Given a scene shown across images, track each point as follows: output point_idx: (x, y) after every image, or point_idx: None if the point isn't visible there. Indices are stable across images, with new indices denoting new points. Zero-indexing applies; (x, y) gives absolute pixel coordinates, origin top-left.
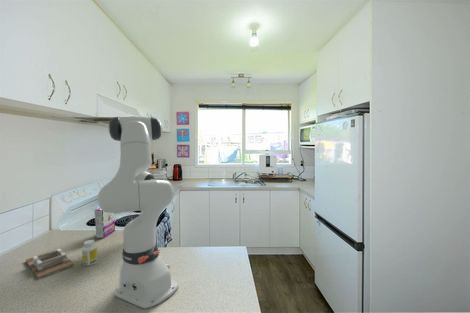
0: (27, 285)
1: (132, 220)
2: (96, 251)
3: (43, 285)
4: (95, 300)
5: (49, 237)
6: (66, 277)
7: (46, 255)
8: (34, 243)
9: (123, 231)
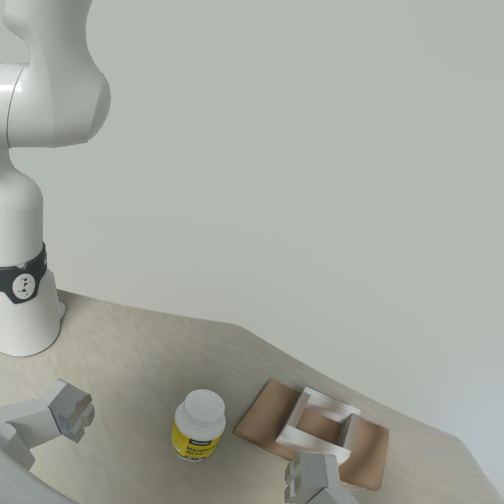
0: (268, 367)
1: (23, 177)
2: (174, 431)
3: (233, 364)
4: (95, 310)
5: None
6: (205, 384)
7: (346, 430)
8: (473, 483)
9: (42, 198)
